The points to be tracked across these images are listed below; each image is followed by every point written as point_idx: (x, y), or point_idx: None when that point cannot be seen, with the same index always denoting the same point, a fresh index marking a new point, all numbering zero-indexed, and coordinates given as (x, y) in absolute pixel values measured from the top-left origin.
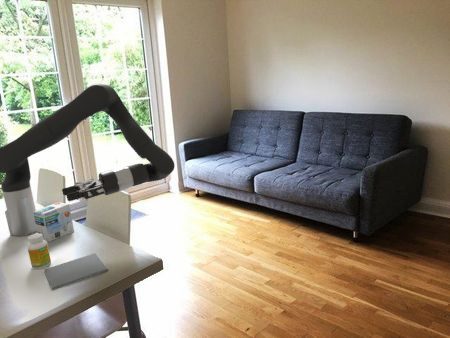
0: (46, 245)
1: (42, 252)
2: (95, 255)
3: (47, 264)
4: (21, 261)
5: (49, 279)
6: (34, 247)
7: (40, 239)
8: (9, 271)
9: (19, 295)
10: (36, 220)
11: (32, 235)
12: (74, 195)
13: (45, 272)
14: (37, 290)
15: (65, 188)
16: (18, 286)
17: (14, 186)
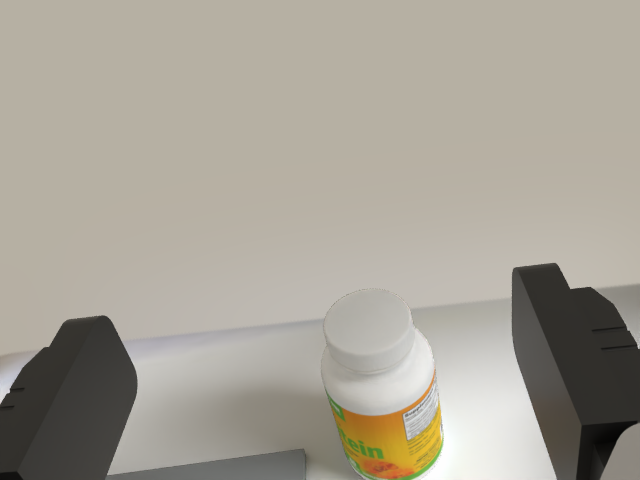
0: (351, 412)
1: (331, 406)
2: None
3: (352, 465)
4: (509, 355)
5: (169, 471)
6: (326, 348)
7: (334, 356)
8: (419, 322)
9: (165, 373)
10: None
11: (391, 305)
12: (6, 417)
13: (260, 455)
14: (142, 429)
15: (526, 295)
16: (242, 364)
17: None
